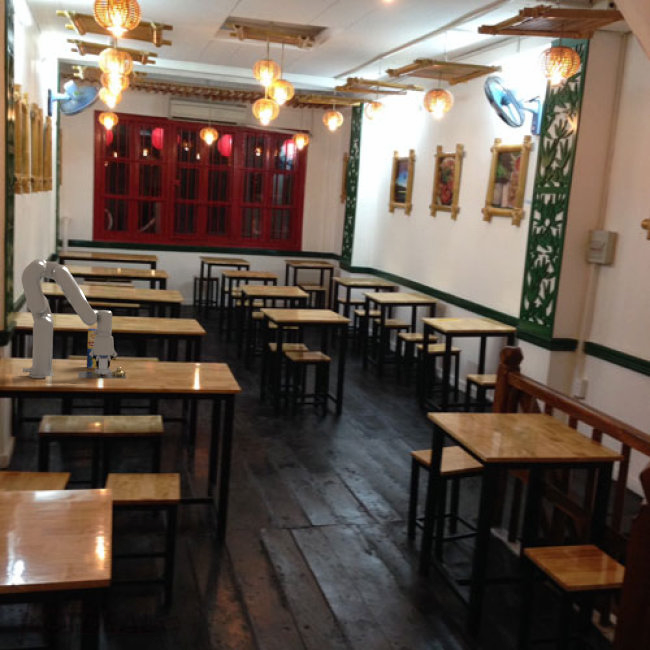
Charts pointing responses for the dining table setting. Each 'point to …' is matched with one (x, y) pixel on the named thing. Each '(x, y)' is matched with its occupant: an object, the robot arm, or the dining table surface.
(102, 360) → the square hollow tube
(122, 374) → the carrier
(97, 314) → the robot arm
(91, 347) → the beverage box
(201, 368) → the dining table surface
